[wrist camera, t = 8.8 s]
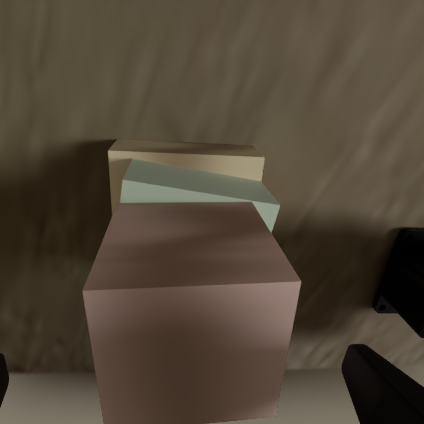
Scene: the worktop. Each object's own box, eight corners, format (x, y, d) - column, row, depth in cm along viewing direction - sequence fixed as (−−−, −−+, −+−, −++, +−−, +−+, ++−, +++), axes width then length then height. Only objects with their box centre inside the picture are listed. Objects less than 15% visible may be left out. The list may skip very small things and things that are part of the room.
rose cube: (251, 201, 12) (301, 281, 7) (241, 304, 14) (275, 416, 9) (117, 202, 11) (82, 290, 7) (127, 311, 13) (105, 433, 9)
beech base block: (250, 143, 17) (264, 157, 14) (237, 253, 20) (247, 281, 17) (118, 137, 16) (107, 150, 14) (124, 252, 19) (116, 283, 16)
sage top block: (260, 180, 15) (280, 205, 12) (231, 283, 17) (242, 323, 14) (132, 158, 14) (122, 179, 11) (119, 271, 16) (108, 311, 13)
